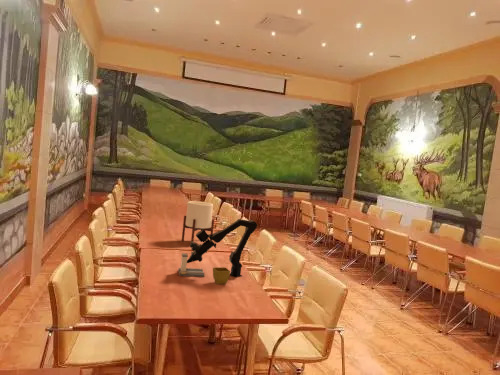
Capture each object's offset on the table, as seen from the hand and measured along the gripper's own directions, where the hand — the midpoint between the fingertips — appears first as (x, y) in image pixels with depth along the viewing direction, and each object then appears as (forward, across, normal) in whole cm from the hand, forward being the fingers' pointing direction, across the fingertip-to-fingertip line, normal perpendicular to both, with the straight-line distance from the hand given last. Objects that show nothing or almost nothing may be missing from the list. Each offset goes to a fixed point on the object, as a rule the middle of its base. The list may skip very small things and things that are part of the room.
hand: (186, 262), depth 277 cm
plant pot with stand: (-8, -97, +18) cm, 99 cm away
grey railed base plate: (+3, 0, +8) cm, 8 cm away
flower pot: (-9, +18, +19) cm, 28 cm away
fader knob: (+5, 0, +3) cm, 6 cm away
